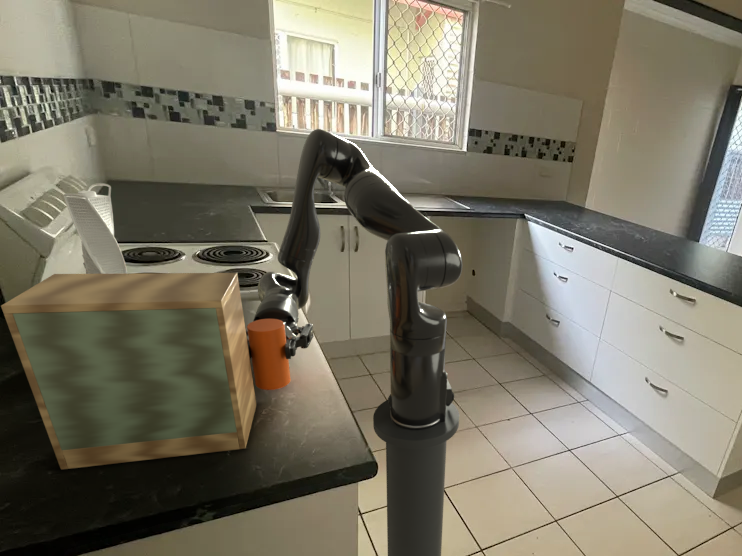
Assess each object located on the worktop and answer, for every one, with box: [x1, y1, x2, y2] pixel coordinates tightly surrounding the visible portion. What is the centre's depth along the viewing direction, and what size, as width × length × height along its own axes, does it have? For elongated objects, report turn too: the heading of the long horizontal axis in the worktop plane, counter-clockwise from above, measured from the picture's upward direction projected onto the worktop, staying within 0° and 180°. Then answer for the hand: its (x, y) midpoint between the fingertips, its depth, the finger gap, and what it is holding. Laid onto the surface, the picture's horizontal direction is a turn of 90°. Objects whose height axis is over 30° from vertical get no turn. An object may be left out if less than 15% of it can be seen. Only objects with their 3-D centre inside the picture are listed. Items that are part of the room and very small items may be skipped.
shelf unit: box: [0, 272, 257, 470], centre depth 66 cm, size 22×12×23 cm, turn 109°
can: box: [246, 319, 292, 391], centre depth 81 cm, size 6×6×11 cm
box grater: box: [63, 182, 128, 274], centre depth 102 cm, size 8×8×28 cm
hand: (267, 355), depth 79 cm, fingers closed on can, 5 cm apart
